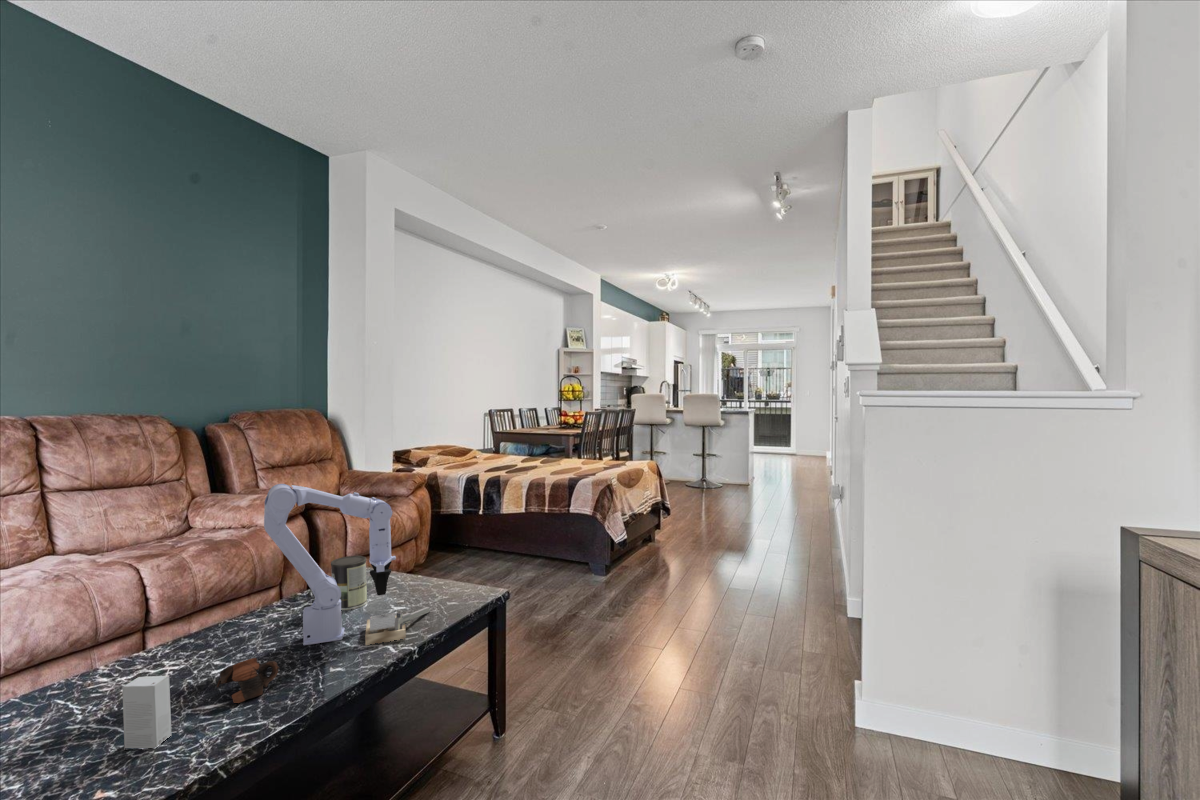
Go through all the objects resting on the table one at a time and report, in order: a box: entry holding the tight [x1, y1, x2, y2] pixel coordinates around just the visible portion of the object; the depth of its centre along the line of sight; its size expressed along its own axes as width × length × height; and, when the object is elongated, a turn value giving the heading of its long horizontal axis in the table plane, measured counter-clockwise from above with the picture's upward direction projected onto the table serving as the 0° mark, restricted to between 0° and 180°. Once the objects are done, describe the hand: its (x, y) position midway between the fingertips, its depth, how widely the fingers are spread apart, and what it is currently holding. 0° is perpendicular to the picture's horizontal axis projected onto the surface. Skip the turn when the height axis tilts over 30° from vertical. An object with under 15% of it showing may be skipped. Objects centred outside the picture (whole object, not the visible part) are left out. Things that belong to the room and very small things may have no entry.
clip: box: [369, 612, 396, 634], centre depth 156 cm, size 6×2×6 cm, turn 109°
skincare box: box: [121, 675, 172, 749], centre depth 110 cm, size 6×4×12 cm
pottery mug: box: [216, 657, 280, 704], centre depth 129 cm, size 12×10×8 cm
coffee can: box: [330, 555, 368, 611], centre depth 182 cm, size 10×10×14 cm
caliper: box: [395, 606, 433, 630], centre depth 165 cm, size 20×1×6 cm, turn 171°
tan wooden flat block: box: [364, 613, 407, 646], centre depth 159 cm, size 10×12×2 cm
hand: (381, 590), depth 165 cm, fingers open, 7 cm apart
